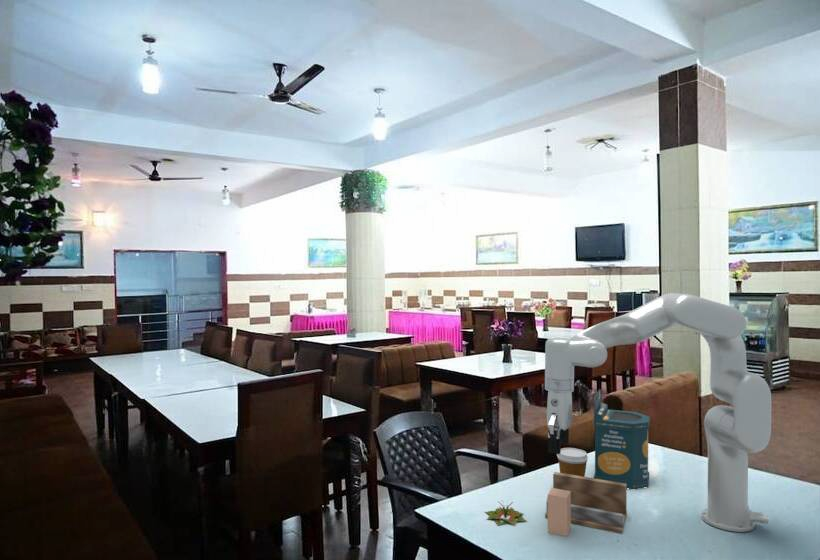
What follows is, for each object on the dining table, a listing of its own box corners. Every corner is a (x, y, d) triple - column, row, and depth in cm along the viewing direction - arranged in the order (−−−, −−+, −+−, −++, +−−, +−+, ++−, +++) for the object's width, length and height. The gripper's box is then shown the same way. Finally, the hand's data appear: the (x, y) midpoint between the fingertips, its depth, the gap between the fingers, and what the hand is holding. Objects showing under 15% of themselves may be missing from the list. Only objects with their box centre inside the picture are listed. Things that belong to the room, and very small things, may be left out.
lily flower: (494, 531, 144) (494, 514, 144) (477, 512, 155) (477, 496, 155) (535, 525, 147) (535, 508, 147) (515, 507, 159) (515, 491, 158)
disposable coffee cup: (582, 498, 163) (582, 459, 163) (551, 491, 169) (552, 453, 169) (592, 489, 171) (592, 451, 171) (563, 482, 177) (563, 445, 177)
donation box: (599, 467, 190) (599, 388, 190) (649, 475, 183) (650, 392, 183) (593, 483, 175) (593, 397, 175) (647, 492, 168) (648, 402, 168)
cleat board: (626, 514, 153) (626, 482, 153) (621, 533, 141) (621, 499, 141) (555, 500, 162) (555, 470, 162) (545, 517, 151) (545, 485, 150)
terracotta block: (570, 528, 144) (570, 491, 144) (566, 536, 140) (567, 498, 140) (551, 524, 147) (551, 487, 147) (547, 532, 142) (547, 494, 142)
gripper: (566, 391, 135) (565, 459, 136) (580, 380, 151) (579, 441, 151) (536, 388, 139) (535, 454, 139) (553, 377, 154) (552, 437, 154)
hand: (558, 447), depth 145 cm, fingers open, 9 cm apart
